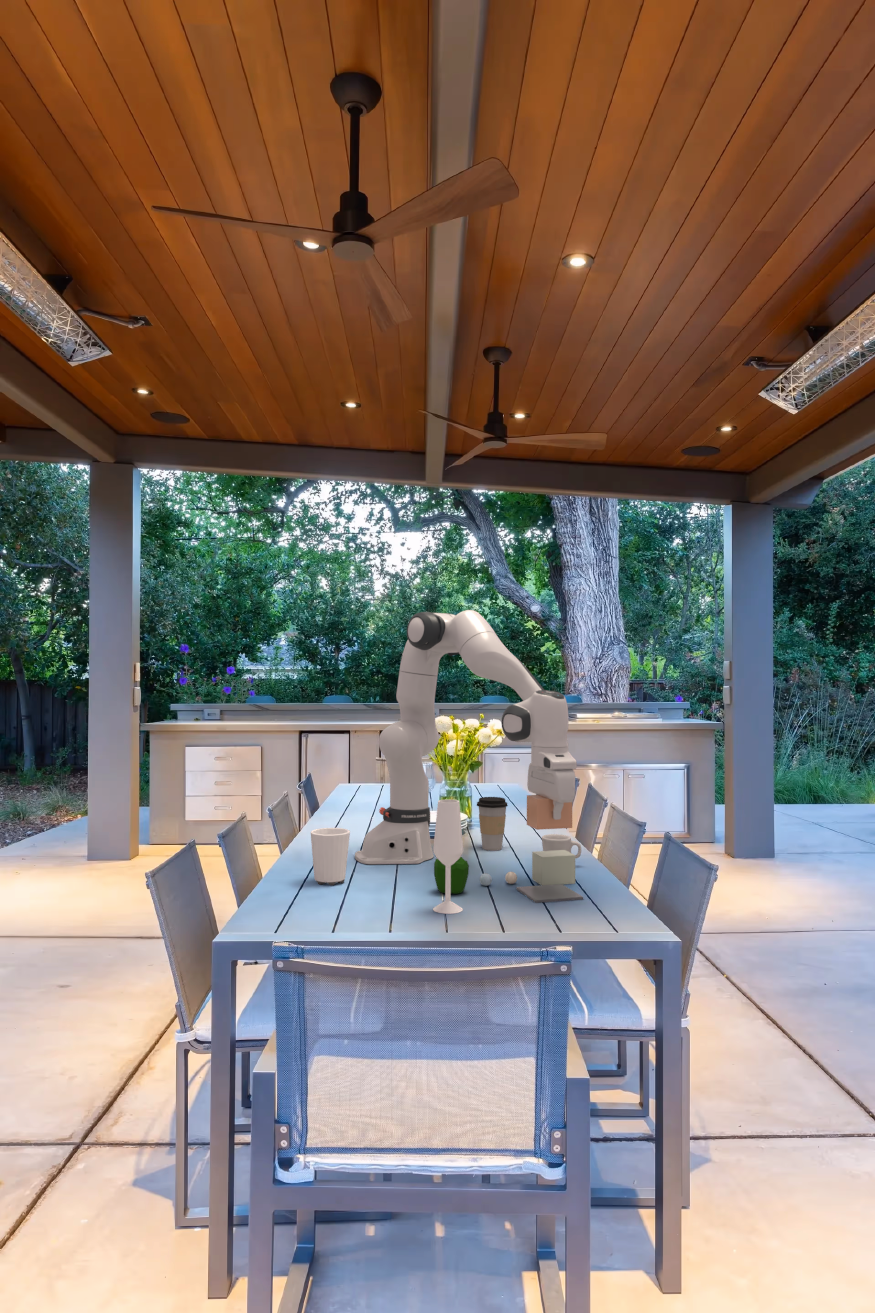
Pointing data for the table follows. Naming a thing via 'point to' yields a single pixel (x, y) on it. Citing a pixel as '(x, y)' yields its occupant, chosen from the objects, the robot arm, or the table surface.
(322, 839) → the cup
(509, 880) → the marble cream
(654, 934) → the table surface
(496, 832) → the coffee cup
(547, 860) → the matte beige cube
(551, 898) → the slate coaster
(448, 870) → the champagne flute
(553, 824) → the terracotta block
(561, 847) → the cup
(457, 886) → the bell pepper
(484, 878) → the marble blue
